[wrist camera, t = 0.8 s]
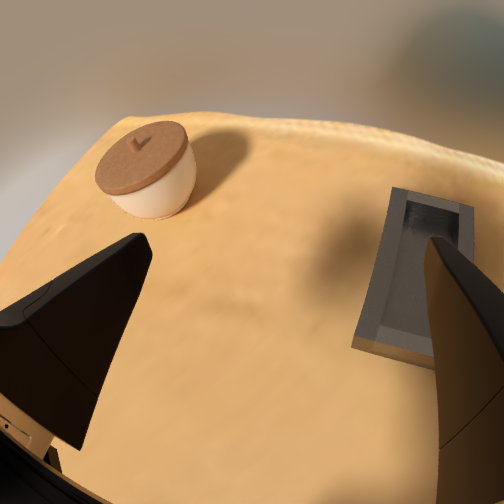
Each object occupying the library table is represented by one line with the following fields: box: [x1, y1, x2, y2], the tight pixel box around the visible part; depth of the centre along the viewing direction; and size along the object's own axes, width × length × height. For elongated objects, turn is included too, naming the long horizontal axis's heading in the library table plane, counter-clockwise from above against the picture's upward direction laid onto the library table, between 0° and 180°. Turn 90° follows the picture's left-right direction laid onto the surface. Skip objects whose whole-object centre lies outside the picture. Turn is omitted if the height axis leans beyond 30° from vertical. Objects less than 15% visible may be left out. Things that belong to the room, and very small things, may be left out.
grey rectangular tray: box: [351, 187, 474, 370], centre depth 22 cm, size 14×8×3 cm, turn 155°
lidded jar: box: [95, 121, 197, 220], centre depth 32 cm, size 11×11×9 cm
